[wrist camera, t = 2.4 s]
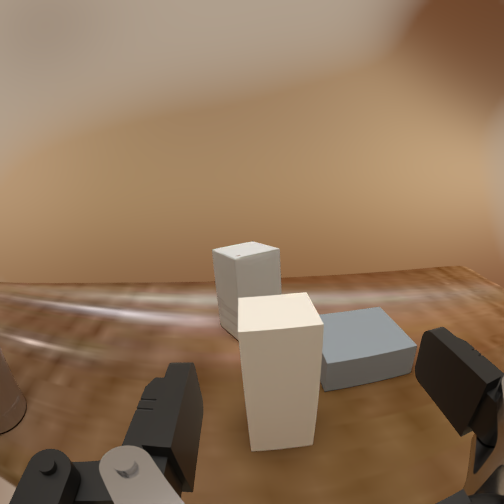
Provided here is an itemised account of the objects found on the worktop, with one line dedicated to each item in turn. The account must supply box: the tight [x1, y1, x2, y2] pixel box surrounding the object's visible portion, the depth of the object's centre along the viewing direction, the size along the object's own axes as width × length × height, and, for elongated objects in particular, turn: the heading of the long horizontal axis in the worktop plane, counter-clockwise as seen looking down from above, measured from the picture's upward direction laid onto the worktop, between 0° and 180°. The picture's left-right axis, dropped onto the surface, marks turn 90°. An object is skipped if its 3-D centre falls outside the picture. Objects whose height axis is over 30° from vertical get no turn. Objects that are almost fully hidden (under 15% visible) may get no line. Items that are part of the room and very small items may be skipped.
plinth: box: [319, 307, 417, 391], centre depth 33 cm, size 11×11×4 cm
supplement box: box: [212, 242, 281, 341], centre depth 42 cm, size 7×7×13 cm
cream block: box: [238, 292, 324, 451], centre depth 22 cm, size 6×6×13 cm
